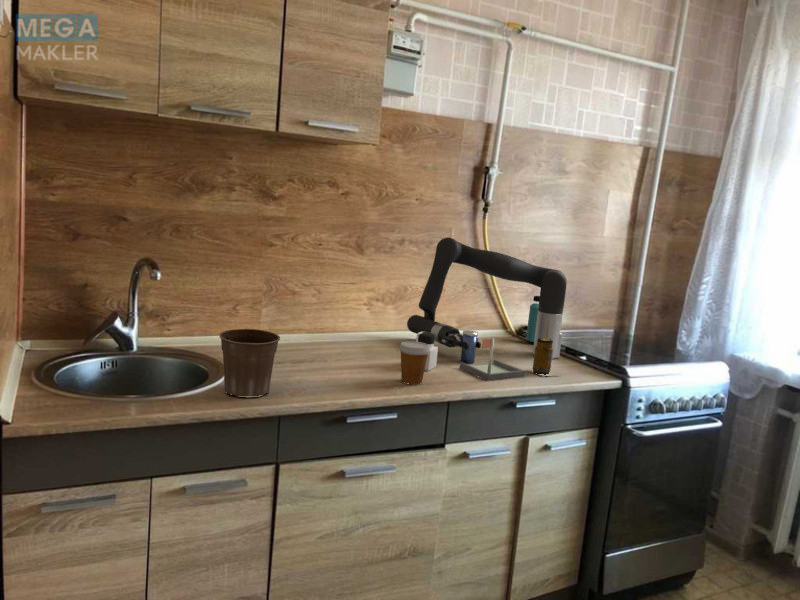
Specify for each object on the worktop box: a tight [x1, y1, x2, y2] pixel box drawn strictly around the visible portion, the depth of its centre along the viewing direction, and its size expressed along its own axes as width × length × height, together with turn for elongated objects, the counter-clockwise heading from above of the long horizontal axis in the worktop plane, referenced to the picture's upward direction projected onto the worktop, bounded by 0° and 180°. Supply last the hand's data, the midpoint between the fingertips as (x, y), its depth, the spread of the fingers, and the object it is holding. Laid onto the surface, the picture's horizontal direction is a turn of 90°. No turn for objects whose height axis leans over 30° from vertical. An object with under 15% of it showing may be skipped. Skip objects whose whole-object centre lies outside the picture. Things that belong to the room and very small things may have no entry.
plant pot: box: [219, 328, 281, 397], centre depth 186 cm, size 16×16×16 cm
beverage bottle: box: [525, 295, 540, 342], centre depth 278 cm, size 6×7×20 cm
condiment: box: [527, 338, 553, 378], centre depth 233 cm, size 7×8×12 cm
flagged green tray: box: [459, 337, 526, 382], centre depth 227 cm, size 15×20×14 cm
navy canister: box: [459, 329, 479, 365], centre depth 239 cm, size 5×5×11 cm
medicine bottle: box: [415, 332, 439, 372], centre depth 227 cm, size 7×7×12 cm
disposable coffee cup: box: [398, 340, 430, 385], centre depth 209 cm, size 10×10×12 cm
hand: (473, 346), depth 237 cm, fingers closed on navy canister, 5 cm apart
